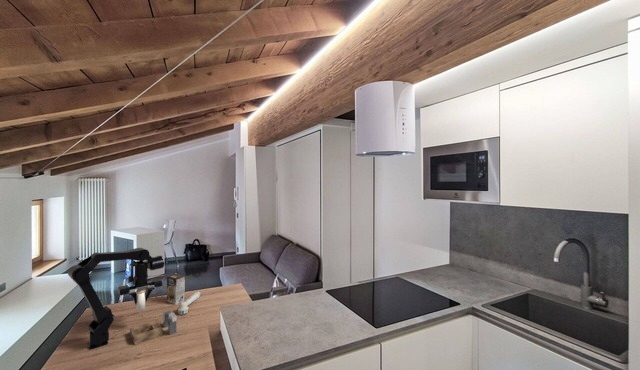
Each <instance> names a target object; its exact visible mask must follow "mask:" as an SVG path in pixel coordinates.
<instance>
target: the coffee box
mask: <svg viewBox="0 0 640 370" xmlns="http://www.w3.org/2000/svg"><path fill="white" fill-rule="evenodd" d="M185 279H186V276H185V275H182V274H178V273H174V274H170V275H167V276H166V302H167V303H170V304H173V305H176V306H177V305H178V304H179V305H180V303H181V302H185V287H186V285H185V283H186V282H185V281H186V280H185Z"/></svg>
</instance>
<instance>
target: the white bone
mask: <svg viewBox="0 0 640 370" xmlns="http://www.w3.org/2000/svg"><path fill="white" fill-rule="evenodd" d="M201 296H202V295H201V292H200V291H196V292H193V293H192V294H191V295H190V297H188V298H187V299H186V300H184V301H183V302H181V303H179V307H178V308H177V311H178V315H182V316H183V315H186V314H188V312H189V308H190V307H189V305H190V304H192V303H193V302H195V301H196V300H198V299H199V298H200V297H201Z"/></svg>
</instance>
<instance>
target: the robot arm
mask: <svg viewBox="0 0 640 370" xmlns="http://www.w3.org/2000/svg"><path fill="white" fill-rule="evenodd" d="M124 260H126V261H127V260H130V261H132V262H131V263H129V266H130V267H134V272H133V273H134V274H133V275H131V276H128V277H127V283H132V285H131V286H129V285H127V284H125V285H122V286H119V287H118V288H117V293H118V295H119V296H125V295H128V296H131V297H132V299H133V303H134V304H135V305H136V304H137V299H136V290H139V289H145V290H146V291H145V303H146V302H147V301H148V299H149V297H150V295H151V293H152V292H153V290H155V288H160V287H162V286H163V283H164V282H163V281H162V279H161V278H155V279H151V281H150V282H148V277H149V276H148V275H149V274H148V270H149V271H155V270H160V269H164V267H165V261H164V259H163V256H162V255H157V256H154V257H153V256H151V255H150V252H149V250H148V249H145V248H143V247H137V248H131V249H130V250H122V251H107V252H94V253H92V254H91V255H90V256H88V257H86V258H85V259H82V260H81V261H80V262H78V263H77V264H75V265H72V266H71V267H70V268H69V269H68V271H67V275H68V277H69V278H70V279H72V281H73V282H74V283H75V284H76V285H77V286H78V287H79V289H80V291H81V292H82V294H83V296H84V298H85V300H86V302H87V303H88V306H89V307H90V309H91V311H92V318H93V319H92V320H91V321H90V323H89V324H88V325H87V328H88V330H89V342H88V345H89V350H93V349H96V348H99V347H103V346H106V345H108V344H109V341H110V331H109V329H110V326H111V325H112V324H113V322H114V317H115V315H114V314H113V313H112V309H111V308H110V307H108V306H107V305H105V306H103V304H102V302H101V299H100V298H99V296H98V294H97V292H96V290H95V288H94V286H93V285H92V283H91V275H90V273H92V271H93V270H94V269H95V268H96V267H97V266H98V265H99V264H100V263H102V262H113V261H116V262H117V261H124Z"/></svg>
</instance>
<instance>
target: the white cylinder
mask: <svg viewBox="0 0 640 370" xmlns="http://www.w3.org/2000/svg"><path fill="white" fill-rule="evenodd" d="M135 292H136V299H137V304H135V312H143V311H145V310H146V302H145V293H146V288H140V289H136V290H135Z"/></svg>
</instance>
